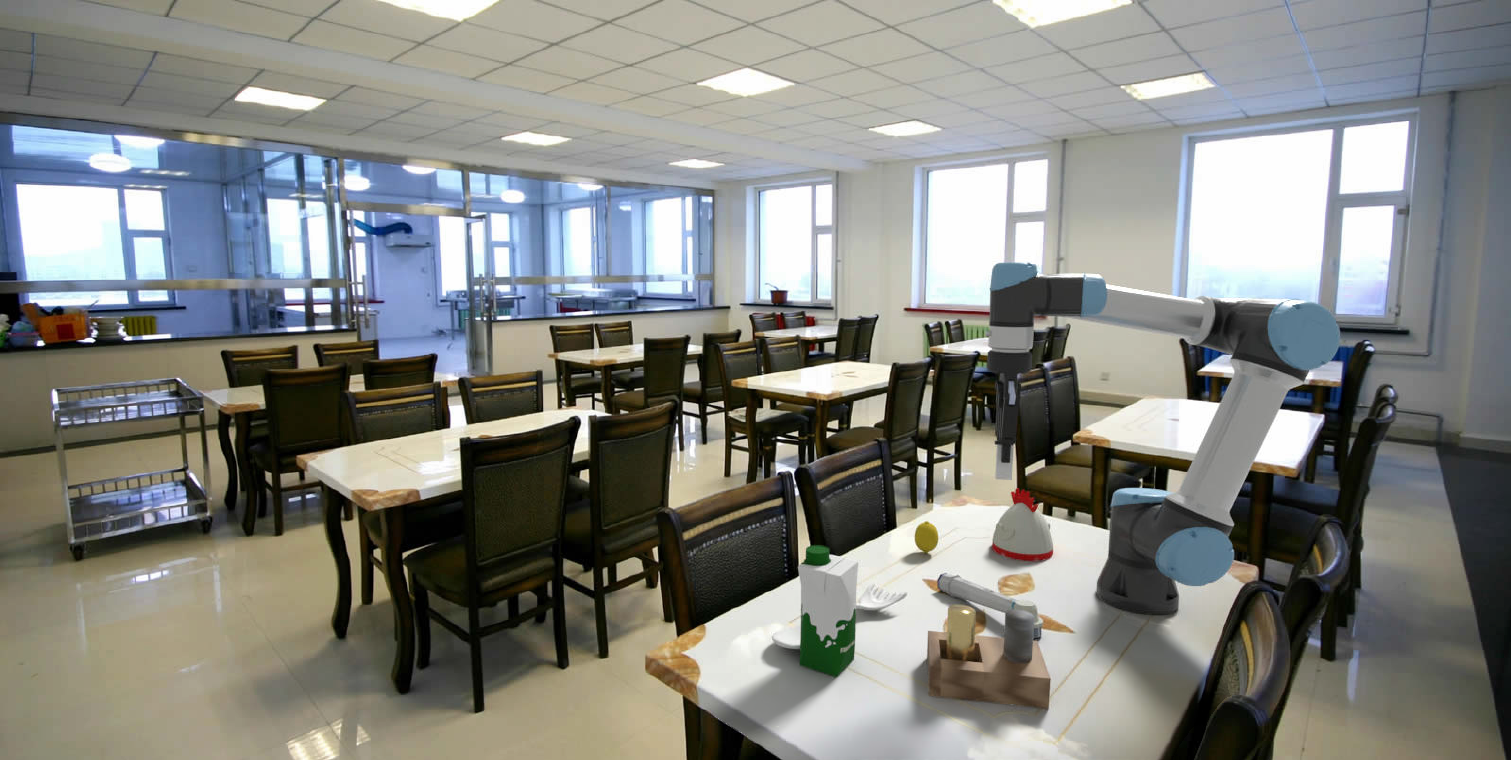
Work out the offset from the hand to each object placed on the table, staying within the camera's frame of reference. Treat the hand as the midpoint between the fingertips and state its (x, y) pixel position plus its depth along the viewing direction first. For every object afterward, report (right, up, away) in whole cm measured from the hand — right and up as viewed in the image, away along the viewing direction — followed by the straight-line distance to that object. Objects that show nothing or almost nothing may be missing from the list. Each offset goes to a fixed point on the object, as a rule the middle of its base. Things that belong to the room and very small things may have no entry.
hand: (1003, 478), depth 135 cm
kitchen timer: (+20, -24, +45) cm, 54 cm away
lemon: (-4, -24, +42) cm, 49 cm away
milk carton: (-33, -31, -7) cm, 46 cm away
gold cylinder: (-12, -32, -13) cm, 36 cm away
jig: (-8, -32, -13) cm, 35 cm away
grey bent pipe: (+1, -29, +12) cm, 31 cm away
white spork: (-29, -29, +5) cm, 42 cm away
